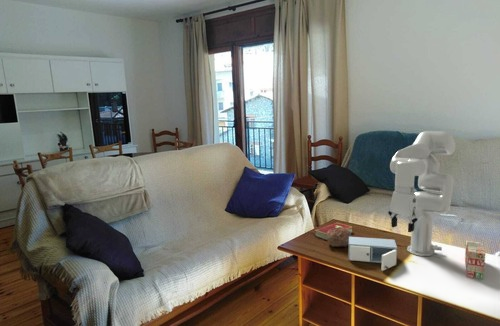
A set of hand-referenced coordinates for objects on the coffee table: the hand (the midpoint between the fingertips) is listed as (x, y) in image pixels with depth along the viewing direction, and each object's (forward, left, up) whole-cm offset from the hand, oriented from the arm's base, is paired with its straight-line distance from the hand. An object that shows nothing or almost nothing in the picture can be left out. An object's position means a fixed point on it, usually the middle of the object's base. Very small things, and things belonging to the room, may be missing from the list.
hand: (402, 228), depth 152 cm
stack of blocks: (-33, -14, -22) cm, 42 cm away
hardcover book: (+30, -46, -22) cm, 60 cm away
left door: (+3, -6, -21) cm, 23 cm away
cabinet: (+11, -16, -22) cm, 29 cm away
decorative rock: (+27, -29, -22) cm, 46 cm away
